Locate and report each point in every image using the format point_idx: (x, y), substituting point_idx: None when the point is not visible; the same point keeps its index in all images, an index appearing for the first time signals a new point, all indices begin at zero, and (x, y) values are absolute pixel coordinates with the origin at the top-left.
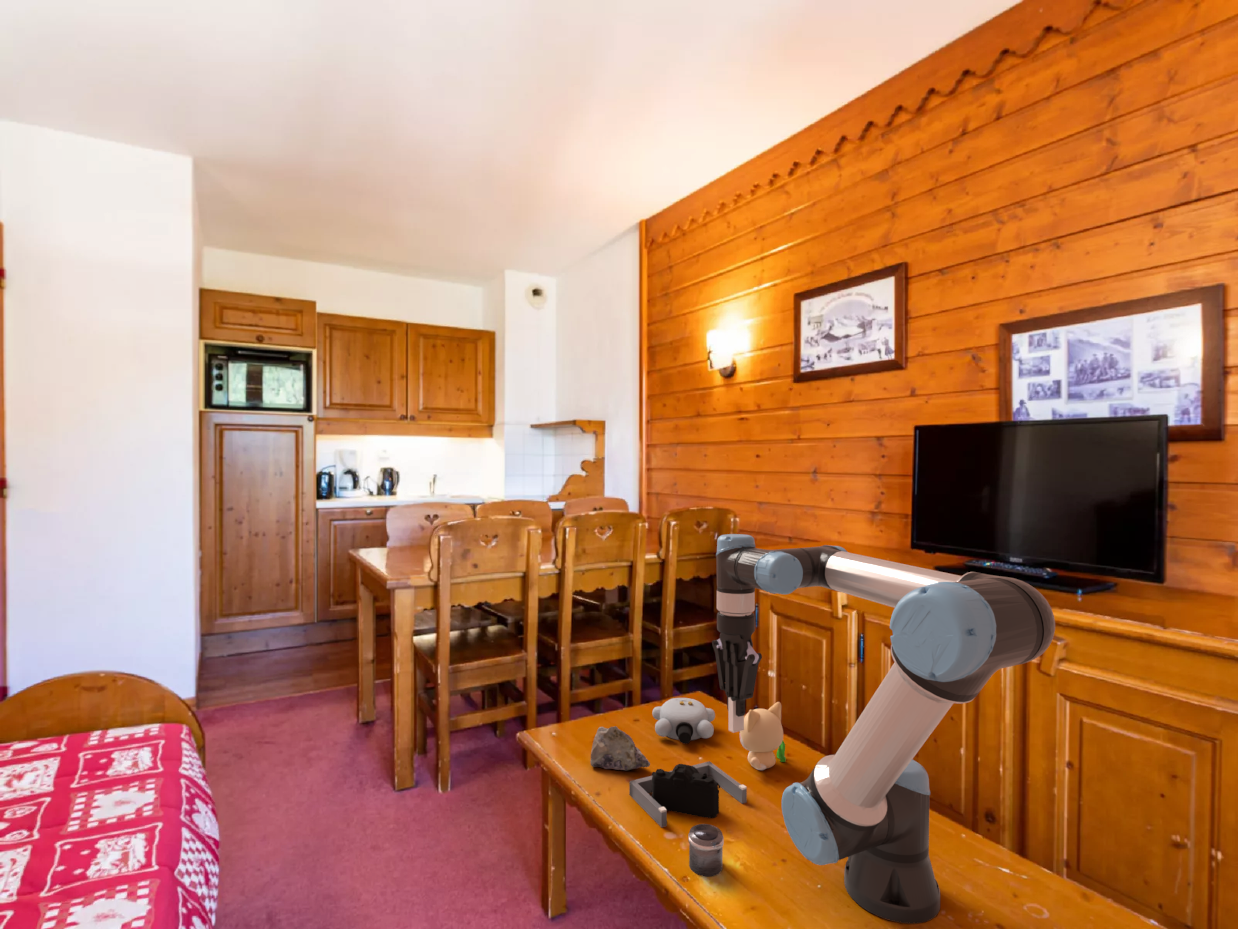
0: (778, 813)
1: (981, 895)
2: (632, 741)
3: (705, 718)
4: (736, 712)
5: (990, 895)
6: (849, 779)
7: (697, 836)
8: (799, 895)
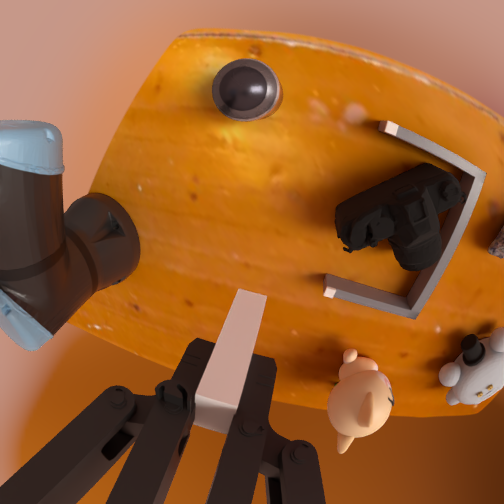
0: (271, 287)
1: None
2: None
3: (455, 388)
4: (210, 352)
5: None
6: None
7: (243, 66)
8: (140, 153)
